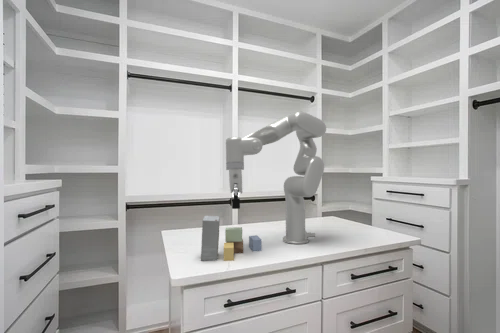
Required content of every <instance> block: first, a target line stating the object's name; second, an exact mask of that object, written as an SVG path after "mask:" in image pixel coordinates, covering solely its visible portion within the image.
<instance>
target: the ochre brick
mask: <svg viewBox="0 0 500 333" xmlns="http://www.w3.org/2000/svg"><path fill="white" fill-rule="evenodd" d="M234 256H235V255H234V243H226V242H224V243H223V262H226V261H227V262H228V261H235V259H234V258H235V257H234Z"/></svg>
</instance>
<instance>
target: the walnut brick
mask: <svg viewBox="0 0 500 333" xmlns="http://www.w3.org/2000/svg"><path fill="white" fill-rule="evenodd" d="M225 243H234V254H235V255H236V254H238V255H239V254H244V239H243V238H242V241H240V242H225Z"/></svg>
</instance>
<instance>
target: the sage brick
mask: <svg viewBox="0 0 500 333" xmlns="http://www.w3.org/2000/svg"><path fill="white" fill-rule="evenodd" d="M224 230H225V232H224V233H225V239H224V241H225V242H224V243H226V242H240V241H242V239H243V227H241V226H240V227H237V226H236V227H233V226H232V227H225V228H224Z"/></svg>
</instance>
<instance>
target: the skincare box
mask: <svg viewBox="0 0 500 333" xmlns="http://www.w3.org/2000/svg"><path fill="white" fill-rule="evenodd" d="M220 219H221V217H220V216H218V215H204V216H203V219H202V225H201V226H202V227H201V228H202V229H201V230H202V231H201V248H200V249H201V250H200V261H203V262H204V261H205V262H207V261H218V255H219V244H220V243H219V242H220Z"/></svg>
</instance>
